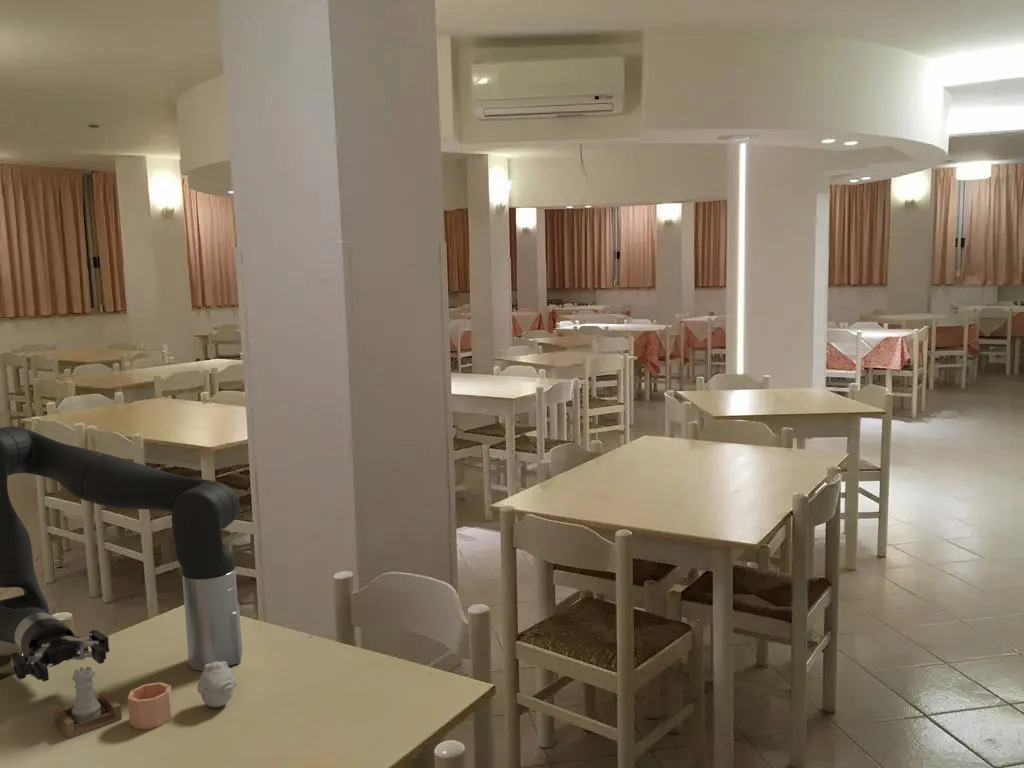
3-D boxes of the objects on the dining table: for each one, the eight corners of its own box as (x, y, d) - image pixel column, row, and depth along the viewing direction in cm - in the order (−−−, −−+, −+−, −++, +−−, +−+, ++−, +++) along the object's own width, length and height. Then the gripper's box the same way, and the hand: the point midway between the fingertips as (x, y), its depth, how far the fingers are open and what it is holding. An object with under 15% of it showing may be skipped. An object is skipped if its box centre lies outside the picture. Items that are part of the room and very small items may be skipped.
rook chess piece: (108, 712, 138) (104, 665, 137) (86, 726, 133) (82, 677, 132) (87, 708, 139) (83, 662, 138) (65, 722, 135) (60, 674, 134)
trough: (54, 722, 136) (52, 708, 136) (106, 704, 141) (105, 691, 141) (68, 738, 131) (66, 724, 131) (121, 719, 136) (120, 705, 136)
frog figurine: (237, 692, 145) (234, 653, 144) (237, 711, 138) (234, 670, 137) (199, 698, 143) (196, 659, 142) (198, 718, 136) (194, 676, 135)
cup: (174, 708, 140) (172, 680, 139) (169, 726, 134) (166, 697, 133) (135, 713, 138) (132, 685, 138) (127, 732, 132) (125, 703, 132)
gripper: (-4, 630, 144) (24, 658, 133) (84, 607, 154) (117, 631, 143) (0, 672, 145) (28, 703, 134) (88, 646, 155) (121, 673, 144)
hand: (74, 666), depth 138 cm, fingers open, 8 cm apart
